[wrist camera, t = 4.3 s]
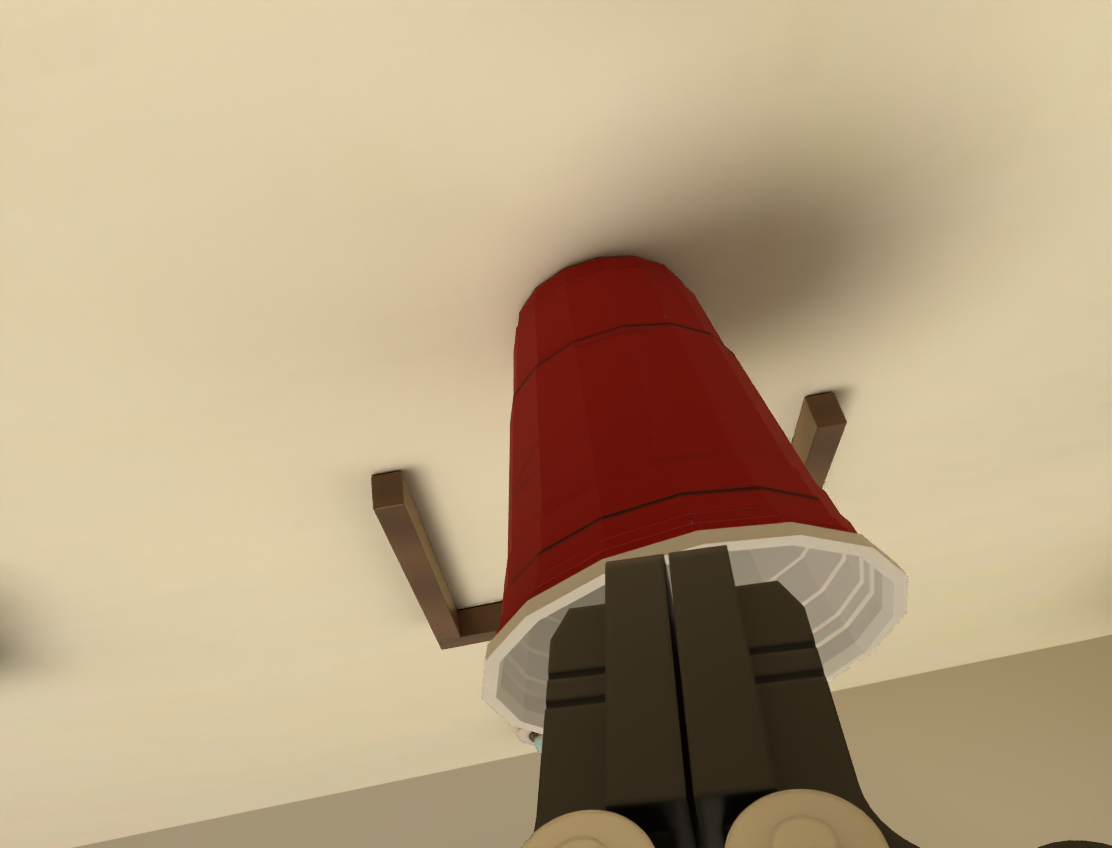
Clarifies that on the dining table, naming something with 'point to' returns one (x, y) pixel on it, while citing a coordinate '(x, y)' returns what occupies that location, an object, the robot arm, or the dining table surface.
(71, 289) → the dining table surface
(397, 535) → the frame
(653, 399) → the plastic cup
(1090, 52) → the dining table surface
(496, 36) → the dining table surface
